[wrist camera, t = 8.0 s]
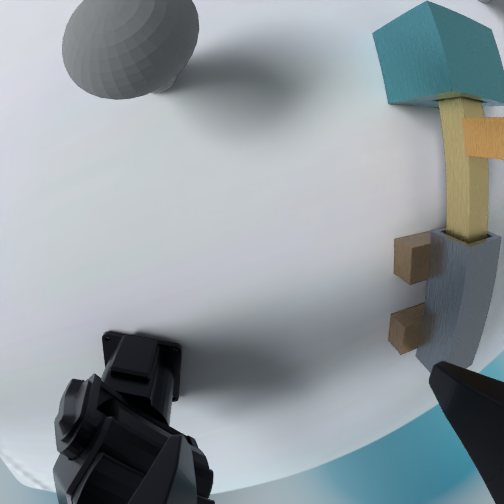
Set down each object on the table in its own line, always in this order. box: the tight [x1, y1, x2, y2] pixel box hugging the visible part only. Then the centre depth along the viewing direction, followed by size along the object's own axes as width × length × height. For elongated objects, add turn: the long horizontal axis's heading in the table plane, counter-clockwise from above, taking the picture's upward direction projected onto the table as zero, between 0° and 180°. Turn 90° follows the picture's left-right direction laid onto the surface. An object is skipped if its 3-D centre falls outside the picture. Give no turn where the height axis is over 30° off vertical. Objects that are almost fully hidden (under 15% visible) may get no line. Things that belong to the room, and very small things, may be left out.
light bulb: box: [62, 0, 199, 100], centre depth 11 cm, size 6×6×10 cm
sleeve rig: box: [372, 1, 504, 373], centre depth 17 cm, size 28×8×7 cm, turn 9°
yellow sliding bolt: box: [438, 96, 504, 244], centre depth 14 cm, size 19×3×6 cm, turn 9°
